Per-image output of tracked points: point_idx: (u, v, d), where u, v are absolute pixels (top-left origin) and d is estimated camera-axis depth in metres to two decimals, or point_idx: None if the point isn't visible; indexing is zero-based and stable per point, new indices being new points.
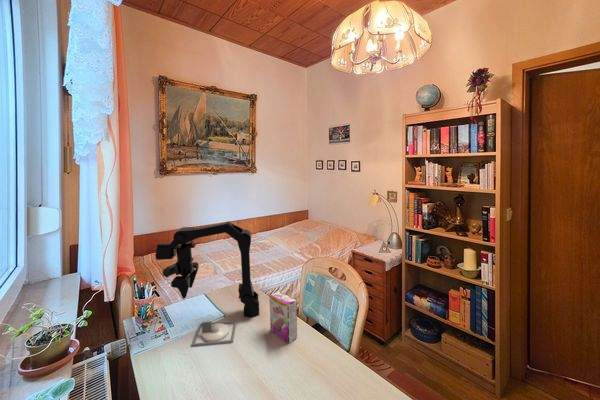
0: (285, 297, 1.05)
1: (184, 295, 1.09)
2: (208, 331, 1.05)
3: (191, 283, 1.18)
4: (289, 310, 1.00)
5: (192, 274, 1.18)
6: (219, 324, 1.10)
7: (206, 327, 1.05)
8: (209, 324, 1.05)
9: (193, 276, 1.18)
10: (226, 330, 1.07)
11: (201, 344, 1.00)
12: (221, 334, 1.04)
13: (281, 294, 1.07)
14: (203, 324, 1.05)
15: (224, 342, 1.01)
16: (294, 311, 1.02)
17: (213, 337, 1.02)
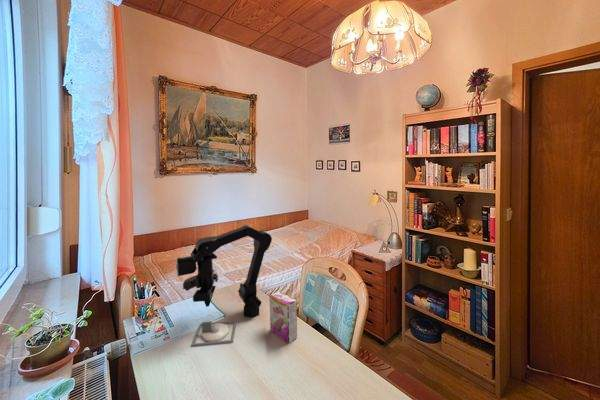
0: (285, 297, 1.05)
1: (207, 303, 1.08)
2: (208, 331, 1.05)
3: None
4: (289, 310, 1.00)
5: None
6: (219, 324, 1.10)
7: (206, 327, 1.05)
8: (209, 324, 1.05)
9: None
10: (226, 330, 1.07)
11: (201, 344, 1.00)
12: (221, 334, 1.04)
13: (281, 294, 1.07)
14: (203, 324, 1.05)
15: (224, 342, 1.01)
16: (294, 311, 1.02)
17: (213, 337, 1.02)
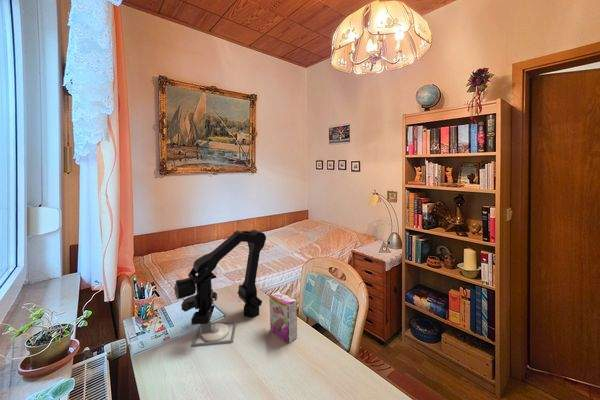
0: (285, 297, 1.05)
1: None
2: (208, 332, 1.05)
3: None
4: (289, 310, 1.00)
5: None
6: (218, 324, 1.10)
7: (206, 328, 1.05)
8: (209, 324, 1.05)
9: None
10: (226, 329, 1.07)
11: (201, 344, 1.00)
12: (222, 334, 1.04)
13: (281, 294, 1.07)
14: (203, 325, 1.04)
15: (224, 342, 1.01)
16: (294, 311, 1.02)
17: (215, 337, 1.03)
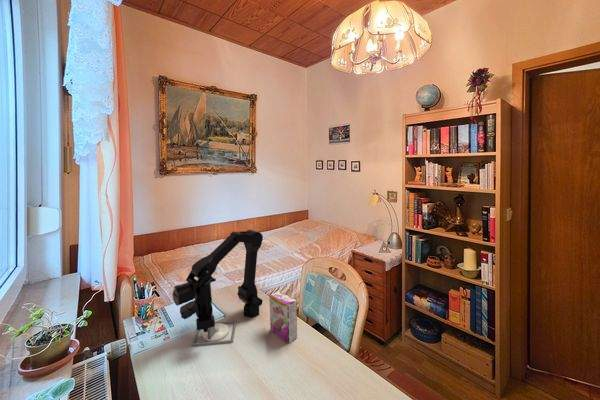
0: (285, 297, 1.05)
1: (206, 329, 1.03)
2: (213, 334, 1.04)
3: None
4: (289, 310, 1.00)
5: None
6: None
7: (212, 331, 1.03)
8: None
9: None
10: (220, 324, 1.10)
11: (201, 344, 1.00)
12: (225, 327, 1.08)
13: (281, 294, 1.07)
14: (210, 329, 1.02)
15: (224, 342, 1.01)
16: (294, 311, 1.02)
17: (224, 332, 1.06)
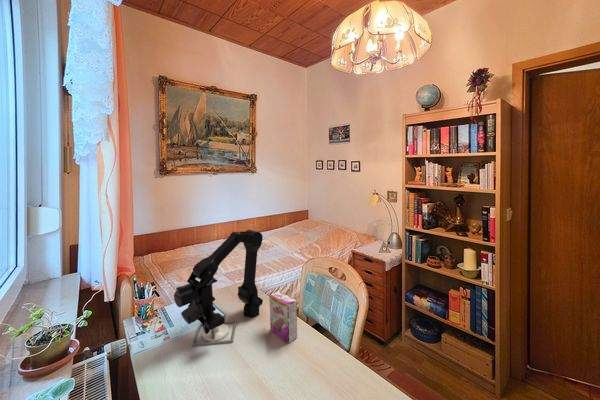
0: (285, 297, 1.05)
1: (208, 330, 1.03)
2: (215, 334, 1.04)
3: (208, 328, 1.03)
4: (289, 310, 1.00)
5: None
6: None
7: (215, 331, 1.03)
8: None
9: None
10: None
11: (201, 344, 1.00)
12: (224, 326, 1.09)
13: (281, 294, 1.07)
14: (214, 329, 1.02)
15: (224, 342, 1.01)
16: (294, 311, 1.02)
17: (225, 330, 1.07)
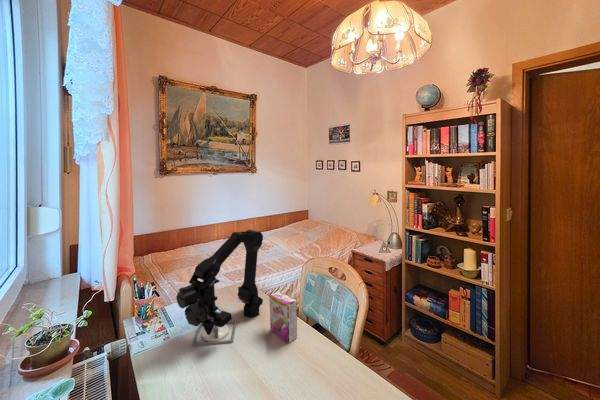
0: (285, 297, 1.05)
1: (210, 330, 1.02)
2: (217, 333, 1.04)
3: None
4: (289, 310, 1.00)
5: None
6: (204, 332, 1.06)
7: None
8: None
9: None
10: None
11: (201, 344, 1.00)
12: None
13: (281, 294, 1.07)
14: (217, 328, 1.02)
15: (224, 342, 1.01)
16: (294, 311, 1.02)
17: (225, 328, 1.08)
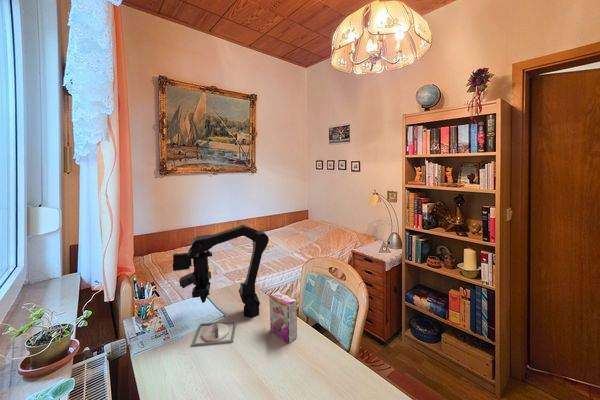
0: (285, 297, 1.05)
1: (204, 299, 1.11)
2: (217, 333, 1.04)
3: None
4: (289, 310, 1.00)
5: None
6: (204, 332, 1.06)
7: None
8: (217, 325, 1.04)
9: None
10: None
11: (201, 344, 1.00)
12: (222, 325, 1.10)
13: (281, 294, 1.07)
14: (217, 328, 1.02)
15: (224, 342, 1.01)
16: (294, 311, 1.02)
17: (225, 328, 1.08)
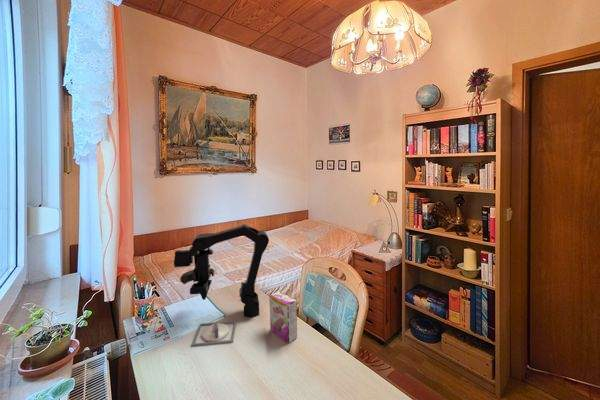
0: (285, 297, 1.05)
1: (204, 296, 1.13)
2: (217, 333, 1.04)
3: None
4: (289, 310, 1.00)
5: None
6: (204, 332, 1.06)
7: None
8: (217, 325, 1.04)
9: None
10: None
11: (201, 344, 1.00)
12: (222, 325, 1.10)
13: (281, 294, 1.07)
14: (217, 328, 1.02)
15: (224, 342, 1.01)
16: (294, 311, 1.02)
17: (225, 328, 1.08)
